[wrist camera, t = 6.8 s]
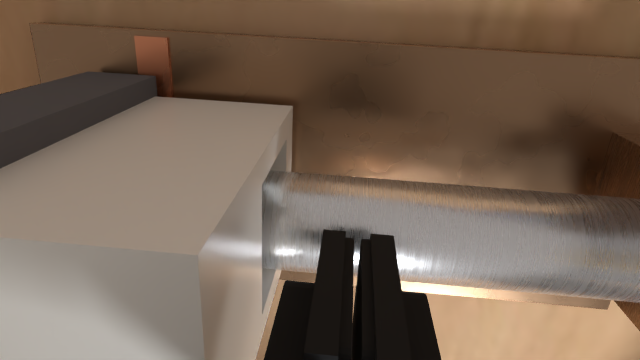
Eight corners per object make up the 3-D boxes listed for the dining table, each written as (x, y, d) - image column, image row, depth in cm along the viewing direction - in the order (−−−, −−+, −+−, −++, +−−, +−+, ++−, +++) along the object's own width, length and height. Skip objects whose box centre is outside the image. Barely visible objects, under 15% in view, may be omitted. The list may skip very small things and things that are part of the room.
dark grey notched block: (171, 245, 18) (15, 447, 10) (113, 240, 18) (-89, 436, 10) (155, 76, 16) (-77, 160, 7) (88, 71, 16) (-216, 150, 7)
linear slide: (686, 60, 15) (888, 97, 9) (600, 300, 19) (704, 430, 13) (40, 22, 16) (-132, 34, 11) (83, 253, 20) (-27, 352, 14)
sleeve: (289, 243, 18) (214, 501, 8) (168, 232, 18) (-29, 471, 9) (292, 105, 15) (197, 254, 6) (155, 96, 16) (-124, 225, 7)
